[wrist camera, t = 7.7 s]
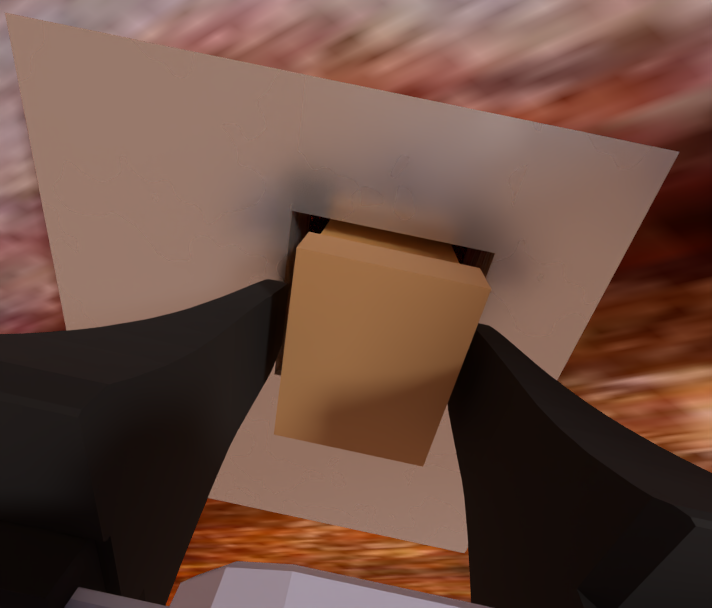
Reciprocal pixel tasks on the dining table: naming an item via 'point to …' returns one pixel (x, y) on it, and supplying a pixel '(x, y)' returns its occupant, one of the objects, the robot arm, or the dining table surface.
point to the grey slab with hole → (292, 219)
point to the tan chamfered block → (375, 340)
